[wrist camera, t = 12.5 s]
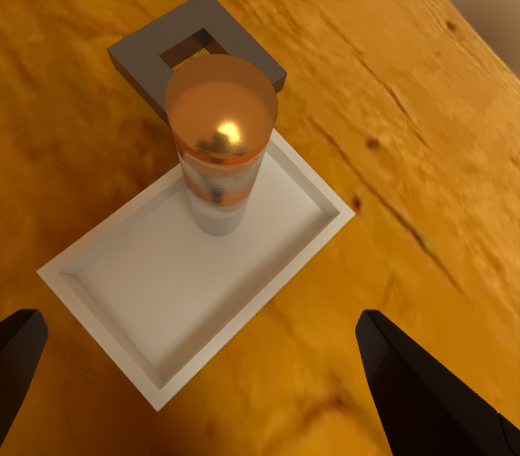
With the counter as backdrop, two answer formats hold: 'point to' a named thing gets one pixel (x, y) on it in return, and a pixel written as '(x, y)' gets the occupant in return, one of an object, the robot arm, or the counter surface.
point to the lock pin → (220, 134)
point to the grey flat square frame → (186, 48)
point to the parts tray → (191, 269)
